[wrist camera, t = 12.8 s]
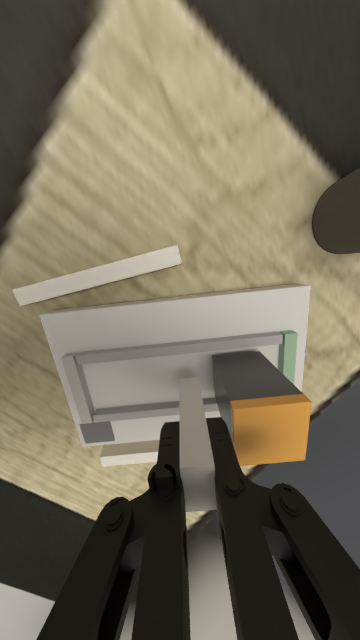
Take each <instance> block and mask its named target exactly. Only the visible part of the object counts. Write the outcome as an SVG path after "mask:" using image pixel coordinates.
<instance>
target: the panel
mask: <svg viewBox="0 0 360 640" xmlns="http://www.w3.org/2000/svg"><path fill="white" fill-rule="evenodd" d="M310 288H311V285H302V284H288V285H279V286H270V287H261V288H251V289H242V290H233V291H224V292H215V293H206V294H196V295H187V296H178V297H169V298H160V299H151V300H142V301H132V302H123V303H114V304H105V305H96V306H87V307H77V308H68V309H59V310H54V311H50V312H47V313H44V314H41V315H39V316H40V319H41V322H42V325H43V329H44V332H45V335H46V338H47V341H48V344H49V347H50V350H51V353H52V356H53V359H54V362H55V365H56V368H57V371H58V374H59V377H60V380H61V383H62V386H63V389H64V392H65V396H66V399H67V402H68V405H69V408H70V411H71V414H72V417H73V420H74V423H75V426H76V429H77V432H78V435H79V438H80V441H81V444H82V447H87V446H98V445H109V444H119V443H130V442H141V441H151V440H160V432H161V428H162V427H163V425H164V423H165V422H175V421H179V379H182V378H193V377H198V378H199V384H200V389H201V395H202V400H203V406H204V411H205V416H206V418H214V417H221V416H220V412H219V409H218V405H217V402H216V399H215V393H214V378H213V362H212V356H217V355H227V354H237V353H246V352H256V351H260V352H261V353H262V354H263V355H264V356H265V357H266V358H267V359H268V360H269V361H270V362H271V363H272V364H273V365H274V366H275V367H276V368H277V369H278V370H279V371H280V372H281V373H282V374H283V375H284V376H285V377H286V378H287V379H288V380H289V381H291V382H292V383H293V384H294V385H295V386H296V387H297V388H298V389H299V390H300V391H301V392H302V381H303V369H304V358H305V346H306V334H307V323H308V311H309V300H310Z"/></svg>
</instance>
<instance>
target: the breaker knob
mask: <svg viewBox="0 0 360 640" xmlns="http://www.w3.org/2000/svg"><path fill="white" fill-rule="evenodd" d="M212 362H213V378H214V393H215V399H216V402H217V405H218V409H219V412H220V416H221V418H222V419H223V420H224V421H225V422H226V424H227V427H228V430H229V433H230V437H231V440H232V443H233V446H234V449H235V453H236V456H237V459H238V462H239V465H240V466H245V465H256V464H267V463H278V462H289V461H299V460H305V455H306V447H307V438H308V428H309V419H310V409H311V401H310V400H309V399H308V398H307V397H306V396H305V395H304V394H303V393H302V392H301V391H300V390H299V389H298V388H297V387H296V386H295V385H294V384H293V383H292V382H291V381H289V380H288V379H287V378H286V377H285V376H284V375H283V374H282V373H281V372H280V371H279V370H278V369H277V368H276V367H275V366H274V365H273V364H272V363H271V362H270V361H269V360H268V359H267V358H266V357H265V356H264V355H263V354H262V353H261V352H260V351H256V352H246V353H237V354H227V355H217V356H212Z"/></svg>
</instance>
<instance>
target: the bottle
mask: <svg viewBox="0 0 360 640" xmlns="http://www.w3.org/2000/svg"><path fill="white" fill-rule="evenodd" d="M313 231H314V235H315V238H316V240H317V242H318V243H319V245H320V246H321V247H322V248H323V249H325V250H327V251H329V252H331V253H336V254H349V253H360V168H359V169H357V170H355V171H354V172H352V173H350V174H349V175H347V176H345V177H343V178H342V179H340V180H339V181H337V182H336V183H334V184H333V185H332V186H331V187H330V188H329V189H328V190H326V192H325V193H324V194H323V196H322V197H321V199H320V200H319V202H318V204H317V206H316V209H315V212H314V216H313Z"/></svg>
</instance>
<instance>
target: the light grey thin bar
mask: <svg viewBox="0 0 360 640" xmlns="http://www.w3.org/2000/svg"><path fill="white" fill-rule="evenodd" d="M180 264H182V262H181V258H180V253H179V249H178V245H175V246H171V247H168V248H164V249H160V250H157V251H153V252H149V253H145V254H142V255H138V256H134V257H131V258H127V259H123V260H120V261H116V262H112V263H109V264H105V265H101V266H97V267H94V268H90V269H86V270H83V271H79V272H75V273H72V274H68V275H64V276H60V277H57V278H53V279H49V280H46V281H42V282H38V283H35V284H31V285H27V286H24V287H20V288H16V289H12V291H13V293H14V295H15V297H16V299H17V301H18V303H19V305H20V306H22V305H27V304H32V303H36V302H40V301H43V300H47V299H51V298H55V297H59V296H62V295H66V294H70V293H74V292H78V291H81V290H85V289H89V288H93V287H96V286H100V285H104V284H108V283H112V282H115V281H119V280H123V279H127V278H131V277H134V276H138V275H142V274H146V273H149V272H153V271H157V270H161V269H165V268H168V267H172V266H176V265H180Z"/></svg>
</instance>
